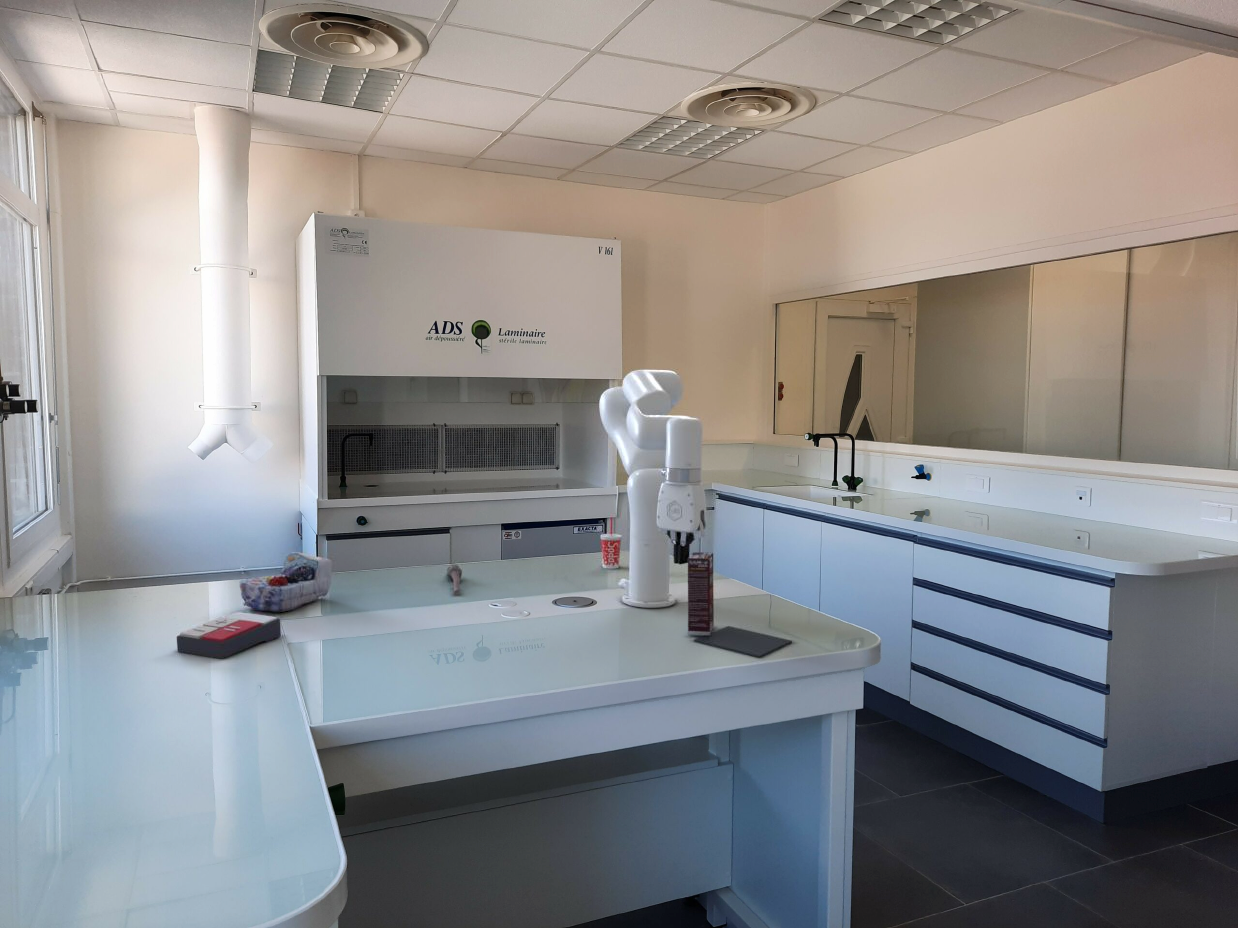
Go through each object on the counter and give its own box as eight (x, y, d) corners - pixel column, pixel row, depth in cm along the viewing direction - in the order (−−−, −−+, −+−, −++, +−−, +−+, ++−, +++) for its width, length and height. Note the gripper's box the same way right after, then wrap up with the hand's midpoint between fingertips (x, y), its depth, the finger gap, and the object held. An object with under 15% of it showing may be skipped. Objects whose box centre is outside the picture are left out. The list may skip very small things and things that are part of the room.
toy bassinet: (338, 551, 195) (277, 570, 176) (339, 596, 196) (278, 620, 177) (293, 546, 199) (228, 564, 180) (294, 590, 200) (230, 613, 182)
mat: (693, 641, 167) (693, 639, 167) (728, 627, 177) (728, 625, 177) (759, 657, 158) (759, 655, 158) (792, 642, 168) (792, 640, 168)
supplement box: (711, 636, 169) (710, 558, 169) (687, 635, 170) (686, 558, 170) (715, 626, 178) (714, 552, 177) (692, 625, 179) (691, 551, 178)
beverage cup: (597, 568, 233) (598, 518, 231) (601, 564, 239) (602, 515, 237) (619, 569, 232) (620, 519, 230) (623, 565, 238) (624, 516, 236)
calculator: (174, 632, 154) (236, 608, 168) (176, 654, 155) (238, 629, 169) (221, 639, 151) (280, 614, 165) (222, 662, 151) (282, 635, 165)
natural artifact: (454, 579, 222) (463, 566, 222) (457, 596, 200) (467, 583, 200) (442, 571, 221) (452, 558, 221) (443, 588, 199) (454, 574, 199)
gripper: (643, 475, 176) (642, 560, 178) (702, 480, 167) (700, 570, 168) (665, 473, 182) (663, 555, 184) (723, 478, 173) (720, 565, 174)
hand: (681, 562), depth 176 cm, fingers closed
